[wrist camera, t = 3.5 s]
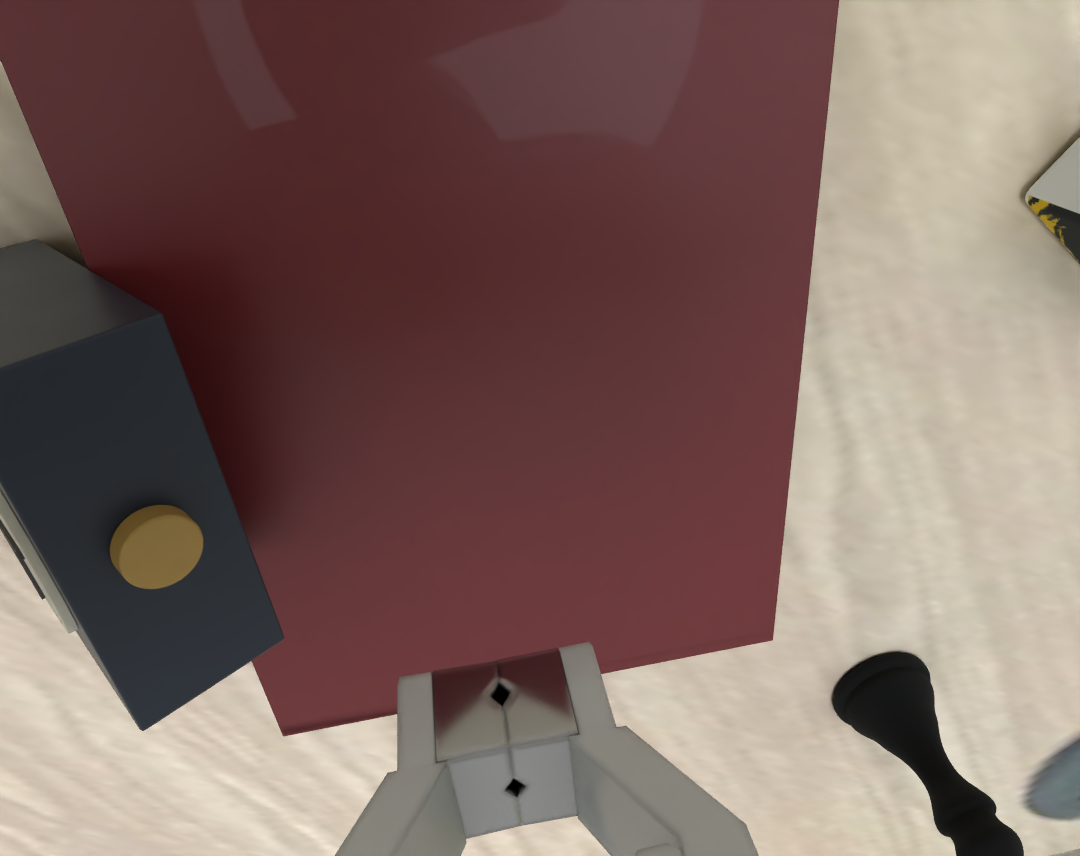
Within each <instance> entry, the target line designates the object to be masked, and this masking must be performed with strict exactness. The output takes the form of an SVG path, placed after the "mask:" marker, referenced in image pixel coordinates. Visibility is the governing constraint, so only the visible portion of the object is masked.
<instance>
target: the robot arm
mask: <svg viewBox="0 0 1080 856" xmlns="http://www.w3.org/2000/svg"><path fill="white" fill-rule="evenodd" d="M573 816H578V819H579V820H580V821H581V822H582V823H583V824H584V826H585V827H586V828H587V829H588V830H589V831H590V832H591V834H592V835H593V836H594V837H595V838H596V839H597V840H598V841H599V843H600V844H601V845H602V846H603V847H604V848H605V849H606V850H607V852H608V853H609V854H610V855H611V856H759V855H758V853H757V850H756V848H755V845H754V843H753V841H752V838H751V836H750V833H749V831H748V828H747V826H746V824H745V823H744V822H742V821H741V820H740V819H739V818H738V817H736V816H735V815H734V814H733V813H731V812H730V811H729V810H728V809H727V808H725V807H724V806H723V805H722V804H721V803H719V802H718V801H717V800H716V799H714V798H713V797H712V796H711V795H710V794H708V793H707V792H706V791H705V790H703V789H702V788H701V787H700V786H699V785H697V784H696V783H695V782H694V781H692V780H691V779H690V778H689V777H688V776H686V775H685V774H684V773H683V772H682V771H680V770H679V769H678V768H677V767H675V766H674V765H673V764H672V763H671V762H669V761H668V760H667V759H666V758H664V757H663V756H662V755H661V754H660V753H658V752H657V751H656V750H655V749H654V748H652V747H651V746H650V745H649V744H647V743H646V742H645V741H644V740H643V739H641V738H640V737H639V736H638V735H636V734H635V733H634V732H633V731H632V730H630V729H629V728H628V727H627V726H622V727H616V724H615V721H614V717H613V714H612V710H611V707H610V704H609V700H608V697H607V693H606V690H605V687H604V683H603V680H602V676H601V673H600V670H599V666H598V663H597V659H596V656H595V653H594V649H593V646H592V645H591V644H590V643H589V642H586V643H581V644H576V645H570V646H565V647H560V648H558V649H557V648H553V649H548V650H543V651H538V652H533V653H528V654H523V655H518V656H513V657H508V658H503V659H498V660H496V661H492V662H486V663H480V664H473V665H467V666H461V667H455V668H449V669H442V670H436V671H433V672H427V673H421V674H415V675H409V676H403V677H400V678H399V682H398V686H397V771H394V772H390V773H387V775H386V776H385V778H384V780H383V781H382V783H381V784H380V786H379V787H378V789H377V790H376V792H375V794H374V795H373V797H372V798H371V800H370V801H369V803H368V805H367V806H366V808H365V809H364V811H363V812H362V814H361V815H360V817H359V819H358V820H357V822H356V823H355V825H354V826H353V828H352V829H351V831H350V833H349V834H348V836H347V837H346V839H345V840H344V842H343V844H342V845H341V847H340V848H339V850H338V851H337V853H336V854H335V856H461V854H462V852H463V849H464V847H465V845H466V839H467V838H471V837H476V836H480V835H484V834H488V833H493V832H497V831H501V830H505V829H509V828H514V827H518V826H522V825H528V824H534V823H539V822H545V821H550V820H556V819H562V818H567V817H573ZM1050 856H1080V849H1077V850H1072V851H1068V852H1063V853H1059V854H1054V855H1050Z"/></svg>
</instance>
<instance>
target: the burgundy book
mask: <svg viewBox="0 0 1080 856" xmlns="http://www.w3.org/2000/svg"><path fill="white" fill-rule="evenodd" d="M838 5H839V0H0V60H1V62H2V64H3V67H4V69H5V72H6V74H7V76H8V79H9V81H10V84H11V86H12V88H13V91H14V93H15V96H16V98H17V100H18V103H19V105H20V108H21V110H22V112H23V115H24V117H25V119H26V122H27V124H28V127H29V129H30V131H31V134H32V136H33V139H34V141H35V143H36V146H37V148H38V151H39V153H40V155H41V158H42V160H43V163H44V165H45V167H46V170H47V172H48V175H49V177H50V179H51V182H52V184H53V187H54V189H55V191H56V194H57V196H58V198H59V201H60V203H61V206H62V208H63V210H64V213H65V215H66V218H67V220H68V222H69V225H70V227H71V230H72V232H73V234H74V237H75V239H76V242H77V244H78V246H79V249H80V251H81V254H82V256H83V258H84V261H85V263H86V265H87V268H88V270H90V271H92V272H94V273H95V274H97V275H99V276H100V277H102V278H104V279H105V280H107V281H109V282H110V283H112V284H114V285H116V286H117V287H119V288H121V289H122V290H124V291H126V292H127V293H129V294H131V295H133V296H134V297H136V298H138V299H139V300H141V301H143V302H144V303H146V304H148V305H150V306H151V307H153V308H155V309H156V310H158V311H160V312H161V313H162V314H163V315H164V317H165V320H166V323H167V325H168V328H169V331H170V333H171V336H172V339H173V341H174V344H175V347H176V349H177V352H178V355H179V357H180V360H181V363H182V365H183V368H184V371H185V373H186V376H187V379H188V381H189V384H190V387H191V389H192V392H193V395H194V397H195V400H196V403H197V405H198V408H199V411H200V413H201V416H202V419H203V421H204V424H205V427H206V429H207V432H208V435H209V437H210V440H211V443H212V445H213V448H214V451H215V453H216V456H217V458H218V461H219V464H220V466H221V469H222V472H223V474H224V477H225V480H226V482H227V485H228V488H229V490H230V493H231V496H232V498H233V501H234V504H235V506H236V509H237V512H238V514H239V517H240V520H241V522H242V525H243V528H244V530H245V533H246V536H247V538H248V541H249V544H250V546H251V549H252V552H253V554H254V557H255V560H256V562H257V565H258V568H259V570H260V573H261V576H262V578H263V581H264V584H265V586H266V589H267V592H268V594H269V597H270V600H271V602H272V605H273V608H274V610H275V613H276V615H277V618H278V621H279V623H280V626H281V629H282V631H283V634H284V640H283V641H281V642H280V643H278V644H277V645H275V646H274V647H272V648H270V649H269V650H267V651H266V652H264V653H263V654H261V655H260V656H258V657H257V658H255V659H254V660H252V663H253V665H254V668H255V670H256V672H257V675H258V677H259V679H260V682H261V684H262V687H263V689H264V691H265V694H266V696H267V699H268V701H269V703H270V706H271V708H272V711H273V713H274V715H275V718H276V720H277V723H278V725H279V727H280V730H281V732H282V735H283V736H288V735H293V734H298V733H303V732H308V731H313V730H318V729H323V728H329V727H334V726H339V725H344V724H349V723H354V722H359V721H364V720H369V719H374V718H379V717H385V716H390V715H395V714H397V686H398V682H399V678H400V677H403V676H409V675H415V674H421V673H427V672H433V671H436V670H442V669H449V668H455V667H461V666H467V665H473V664H480V663H486V662H492V661H496V660H498V659H503V658H508V657H513V656H518V655H523V654H528V653H533V652H538V651H543V650H548V649H553V648H557V649H558V648H560V647H565V646H570V645H576V644H581V643H586V642H589V643H590V644H591V645H592V646H593V649H594V653H595V656H596V659H597V663H598V666H599V670H600V673H601V674H603V673H609V672H614V671H619V670H624V669H629V668H634V667H639V666H644V665H649V664H654V663H659V662H665V661H670V660H675V659H680V658H685V657H690V656H695V655H700V654H705V653H710V652H715V651H721V650H726V649H731V648H736V647H741V646H746V645H751V644H756V643H761V642H766V641H771V640H773V633H774V623H775V613H776V604H777V594H778V584H779V575H780V565H781V555H782V546H783V536H784V526H785V517H786V507H787V497H788V488H789V478H790V469H791V459H792V449H793V440H794V430H795V420H796V411H797V401H798V391H799V382H800V372H801V362H802V353H803V343H804V333H805V324H806V314H807V304H808V295H809V285H810V275H811V266H812V256H813V246H814V237H815V227H816V217H817V208H818V198H819V188H820V179H821V169H822V159H823V150H824V140H825V130H826V121H827V111H828V101H829V92H830V82H831V73H832V63H833V53H834V44H835V34H836V24H837V15H838Z"/></svg>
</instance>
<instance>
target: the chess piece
mask: <svg viewBox="0 0 1080 856" xmlns="http://www.w3.org/2000/svg"><path fill="white" fill-rule="evenodd" d="M833 706H834V709H835V711H836V713H837V715H838V716H839V717H840V719H841V720H843V721H844V722H845V723H847V724H849V725H851V726H852V727H853V728H854V729H855V730H856V731H857V732H859V733H860V734H862V735H864V736H866V737H868V738H870V739H872V740H874V741H876V742H877V743H878V744H880V745H881V746H882V747H883V748H885V749H886V750H888V751H889V752H891V753H892V754H894V755H895V756H897V757H898V758H900V759H901V760H902V761H904V762H905V763H906V764H907V765H908V766H909V767H911V768H912V770H913V771H914V772H915V773H916V774H917V775H918V777H919V778H920V779H921V781H922V782H923V784H924V785H925V787H926V789H927V791H928V793H929V796H930V800H931V804H932V810H933V816H934V821H935V824H936V827H937V829H938V830H939V832H940V833H941V834H943V835H944V836H947V837H951V839H952V840H953V842H954V845H955V850H956V856H1024V851H1023V846H1022V843H1021V840H1020V838H1019V837H1018V835H1017V834H1016V833H1015V832H1014V831H1013V830H1012V829H1011V828H1010V827H1008V826H1006V825H1005V824H1003V823H1002V822H1001V821H1000V820H999V819H998V818H997V817H996V815H995V813H996V805H995V803H994V801H993V800H992V799H991V798H990V797H989V796H988V795H986V794H985V793H984V792H982V791H981V790H979V789H978V788H976V787H975V786H973V785H972V784H970V783H969V782H968V781H966V780H965V779H964V778H963V777H962V776H961V775H959V773H958V772H957V771H956V770H955V769H954V767H953V766H952V764H951V763H950V761H949V759H948V757H947V755H946V753H945V751H944V749H943V746H942V743H941V739H940V734H939V727H938V721H937V717H936V714H935V707H934V691H933V687H932V685H931V683H930V674H929V671H928V669H927V667H926V665H925V664H924V663H923V662H922V661H921V660H920V659H919V658H917V657H915V656H913V655H910V654H906V653H890V654H885V655H881V656H878V657H875V658H872V659H870V660H868V661H866V662H864V663H862V664H860V665H859V666H857V667H855V668H854V669H853V670H852V671H850V672H849V673H848V674H847V675H846V676H845V677H844V678H843V679H842V680H841V682H840V683H839V685H838V686H837V688H836V690H835V692H834V697H833Z"/></svg>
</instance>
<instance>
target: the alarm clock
mask: <svg viewBox="0 0 1080 856" xmlns="http://www.w3.org/2000/svg"><path fill="white" fill-rule="evenodd" d="M0 529H1V531H2V533H3V534H4V536H5V538H6V539H7V541H8V543H9V544H10V546H11V548H12V549H13V551H14V553H15V555H16V556H17V558H18V560H19V561H20V563H21V565H22V566H23V568H24V570H25V571H26V573H27V575H28V576H29V578H30V580H31V582H32V583H33V585H34V587H35V588H36V590H37V592H38V593H39V595H40V597H41V598H42V599H44V598H46V600H47V601H48V603H49V604H50V606H51V608H52V609H53V611H54V612H55V614H56V616H57V617H58V619H59V620H60V622H61V623H62V625H63V626H64V628H65V629H66V631H67V632H68V633H72V632H74V631H75V630H76V632H77V634H78V635H79V637H80V638H81V640H82V641H83V643H84V644H85V646H86V647H87V649H88V650H89V652H90V654H91V655H92V657H93V658H94V660H95V661H96V663H97V664H98V666H99V667H100V669H101V670H102V672H103V673H104V675H105V677H106V678H107V680H108V681H109V683H110V684H111V686H112V687H113V689H114V690H115V692H116V693H117V695H118V697H119V698H120V700H121V701H122V703H123V704H124V706H125V707H126V709H127V710H128V712H129V713H130V715H131V717H132V718H133V720H134V721H135V723H136V724H137V726H138V727H139V729H140V730H142V731H144V730H146V729H148V728H149V727H151V726H152V725H154V724H155V723H157V722H158V721H160V720H161V719H163V718H164V717H166V716H167V715H169V714H171V713H172V712H174V711H175V710H177V709H178V708H180V707H181V706H183V705H184V704H186V703H187V702H189V701H191V700H192V699H194V698H195V697H197V696H198V695H200V694H201V693H203V692H204V691H206V690H207V689H209V688H211V687H212V686H214V685H215V684H217V683H218V682H220V681H221V680H223V679H224V678H226V677H227V676H229V675H230V674H232V673H234V672H235V671H237V670H238V669H240V668H241V667H243V666H244V665H246V664H247V663H249V662H250V661H252V660H254V659H255V658H257V657H258V656H260V655H261V654H263V653H264V652H266V651H267V650H269V649H270V648H272V647H274V646H275V645H277V644H278V643H280V642H281V641H283V640H284V634H283V631H282V629H281V626H280V623H279V621H278V618H277V615H276V613H275V610H274V608H273V605H272V602H271V600H270V597H269V594H268V592H267V589H266V586H265V584H264V581H263V578H262V576H261V573H260V570H259V568H258V565H257V562H256V560H255V557H254V554H253V552H252V549H251V546H250V544H249V541H248V538H247V536H246V533H245V530H244V528H243V525H242V522H241V520H240V517H239V514H238V512H237V509H236V506H235V504H234V501H233V498H232V496H231V493H230V490H229V488H228V485H227V482H226V480H225V477H224V474H223V472H222V469H221V466H220V464H219V461H218V458H217V456H216V453H215V451H214V448H213V445H212V443H211V440H210V437H209V435H208V432H207V429H206V427H205V424H204V421H203V419H202V416H201V413H200V411H199V408H198V405H197V403H196V400H195V397H194V395H193V392H192V389H191V387H190V384H189V381H188V379H187V376H186V373H185V371H184V368H183V365H182V363H181V360H180V357H179V355H178V352H177V349H176V347H175V344H174V341H173V339H172V336H171V333H170V331H169V328H168V325H167V323H166V320H165V317H164V315H163V314H162V313H161V312H160V311H158V310H156V309H155V308H153V307H151V306H150V305H148V304H146V303H144V302H143V301H141V300H139V299H138V298H136V297H134V296H133V295H131V294H129V293H127V292H126V291H124V290H122V289H121V288H119V287H117V286H116V285H114V284H112V283H110V282H109V281H107V280H105V279H104V278H102V277H100V276H99V275H97V274H95V273H94V272H92V271H90V270H88V269H87V268H85V267H83V266H82V265H80V264H78V263H77V262H75V261H73V260H71V259H70V258H68V257H66V256H65V255H63V254H61V253H60V252H58V251H56V250H54V249H53V248H51V247H49V246H48V245H46V244H44V243H43V242H41V241H39V240H32V241H28V242H24V243H21V244H17V245H13V246H9V247H6V248H2V249H0Z"/></svg>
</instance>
